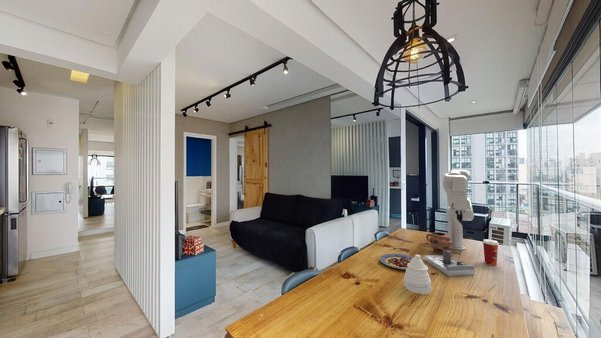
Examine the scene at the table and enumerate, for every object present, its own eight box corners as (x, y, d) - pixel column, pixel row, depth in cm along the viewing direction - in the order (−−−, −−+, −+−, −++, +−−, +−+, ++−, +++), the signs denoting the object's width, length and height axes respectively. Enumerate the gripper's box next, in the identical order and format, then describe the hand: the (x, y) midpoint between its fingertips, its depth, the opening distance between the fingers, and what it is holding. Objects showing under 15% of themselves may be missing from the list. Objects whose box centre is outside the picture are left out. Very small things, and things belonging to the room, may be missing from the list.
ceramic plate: (412, 257, 164) (412, 252, 164) (429, 273, 138) (429, 268, 138) (376, 256, 167) (375, 251, 167) (385, 271, 141) (385, 267, 141)
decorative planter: (421, 249, 179) (421, 231, 179) (430, 246, 185) (429, 229, 185) (448, 257, 162) (448, 237, 162) (457, 254, 168) (457, 235, 168)
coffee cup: (499, 267, 145) (499, 243, 145) (482, 264, 150) (482, 241, 150) (498, 262, 152) (498, 240, 152) (482, 259, 157) (482, 238, 157)
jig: (423, 259, 158) (423, 252, 158) (445, 258, 159) (445, 251, 159) (448, 276, 134) (448, 266, 134) (474, 274, 135) (474, 265, 135)
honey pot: (435, 295, 113) (434, 259, 113) (407, 293, 116) (406, 258, 116) (426, 283, 126) (425, 250, 126) (401, 281, 129) (401, 249, 129)
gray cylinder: (441, 265, 148) (441, 250, 148) (447, 265, 149) (447, 249, 149) (446, 268, 144) (446, 252, 144) (452, 268, 144) (452, 252, 144)
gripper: (465, 193, 163) (465, 218, 163) (445, 193, 162) (445, 219, 162) (473, 194, 156) (474, 221, 156) (453, 194, 155) (453, 221, 155)
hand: (459, 220), depth 159 cm, fingers closed
